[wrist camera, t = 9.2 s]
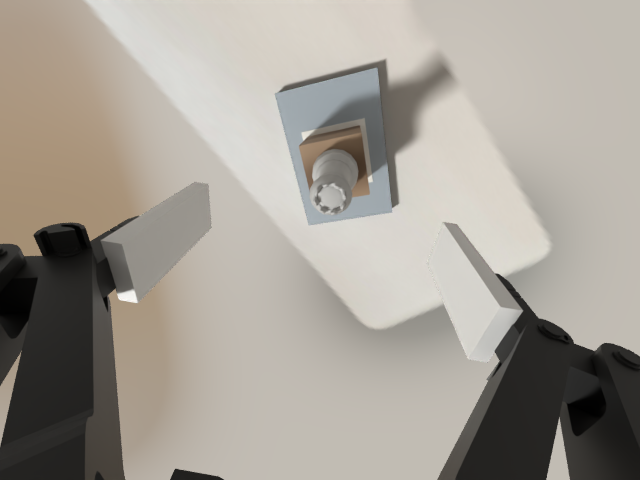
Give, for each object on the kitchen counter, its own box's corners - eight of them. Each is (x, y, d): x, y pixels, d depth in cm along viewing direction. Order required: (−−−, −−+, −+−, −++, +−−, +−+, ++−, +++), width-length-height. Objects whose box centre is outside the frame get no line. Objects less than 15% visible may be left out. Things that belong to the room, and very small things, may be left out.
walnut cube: (307, 136, 31) (298, 145, 26) (359, 125, 30) (361, 132, 25) (318, 186, 34) (312, 204, 29) (367, 177, 33) (370, 194, 28)
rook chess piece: (368, 169, 27) (373, 197, 20) (337, 201, 28) (332, 238, 21) (333, 137, 25) (326, 155, 18) (303, 173, 27) (287, 201, 20)
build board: (277, 93, 31) (274, 93, 30) (376, 68, 29) (377, 67, 28) (310, 221, 38) (308, 225, 37) (391, 208, 36) (392, 212, 35)
